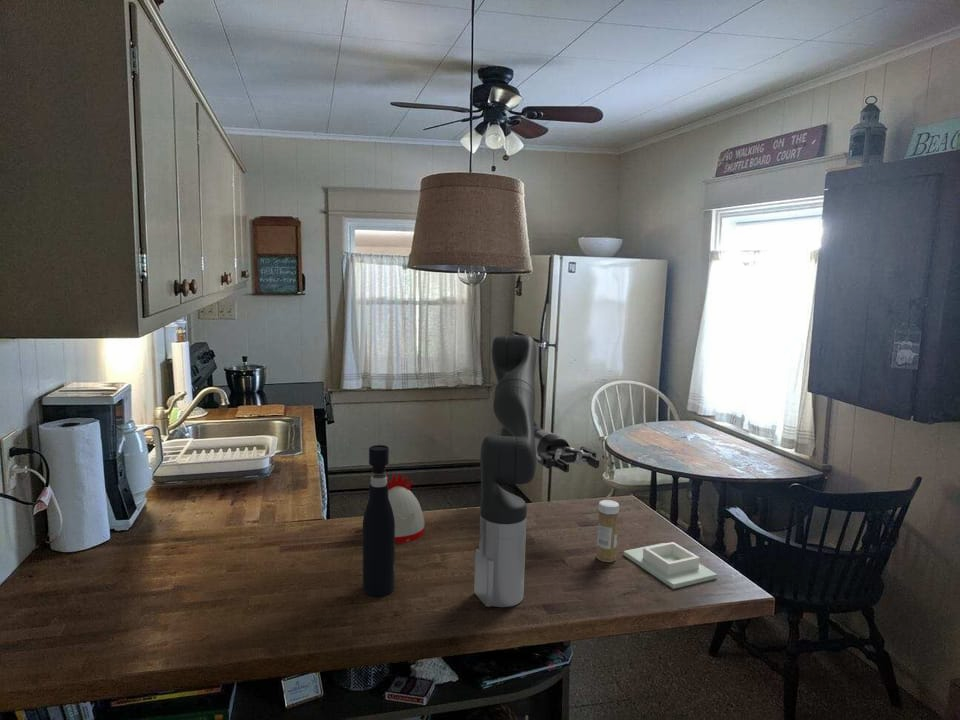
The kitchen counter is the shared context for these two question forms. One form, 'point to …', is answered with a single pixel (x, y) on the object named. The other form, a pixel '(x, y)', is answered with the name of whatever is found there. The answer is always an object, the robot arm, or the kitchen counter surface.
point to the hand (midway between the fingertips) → (583, 466)
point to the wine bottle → (378, 530)
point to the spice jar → (607, 530)
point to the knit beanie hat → (405, 510)
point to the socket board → (671, 564)
